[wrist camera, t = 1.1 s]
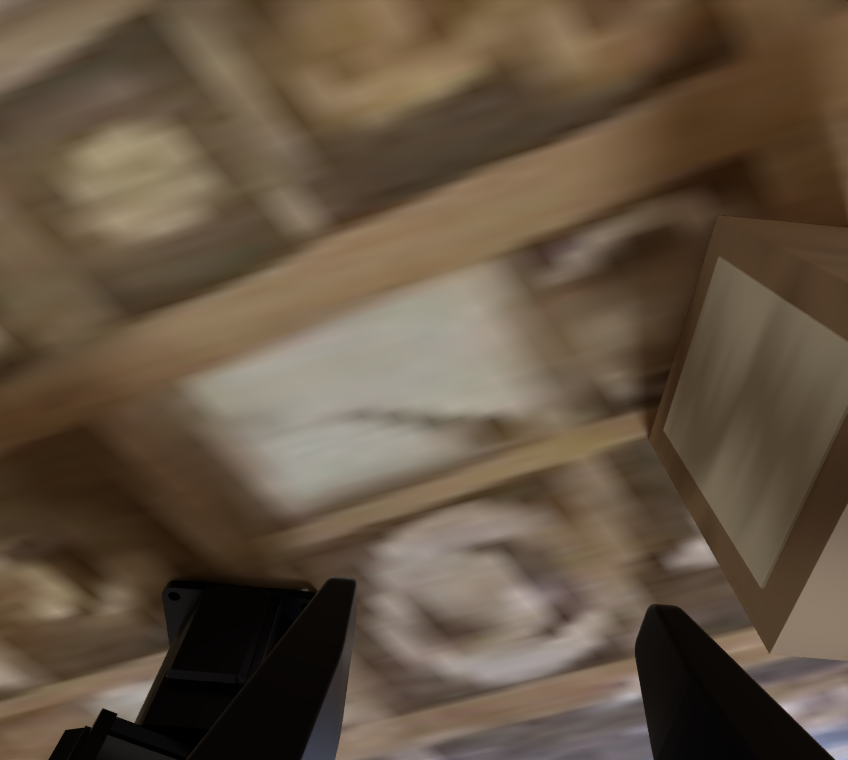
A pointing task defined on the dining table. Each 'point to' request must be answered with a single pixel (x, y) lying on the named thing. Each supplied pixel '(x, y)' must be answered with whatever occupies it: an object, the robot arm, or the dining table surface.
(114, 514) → the dining table surface
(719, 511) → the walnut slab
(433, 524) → the dining table surface
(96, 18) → the dining table surface
